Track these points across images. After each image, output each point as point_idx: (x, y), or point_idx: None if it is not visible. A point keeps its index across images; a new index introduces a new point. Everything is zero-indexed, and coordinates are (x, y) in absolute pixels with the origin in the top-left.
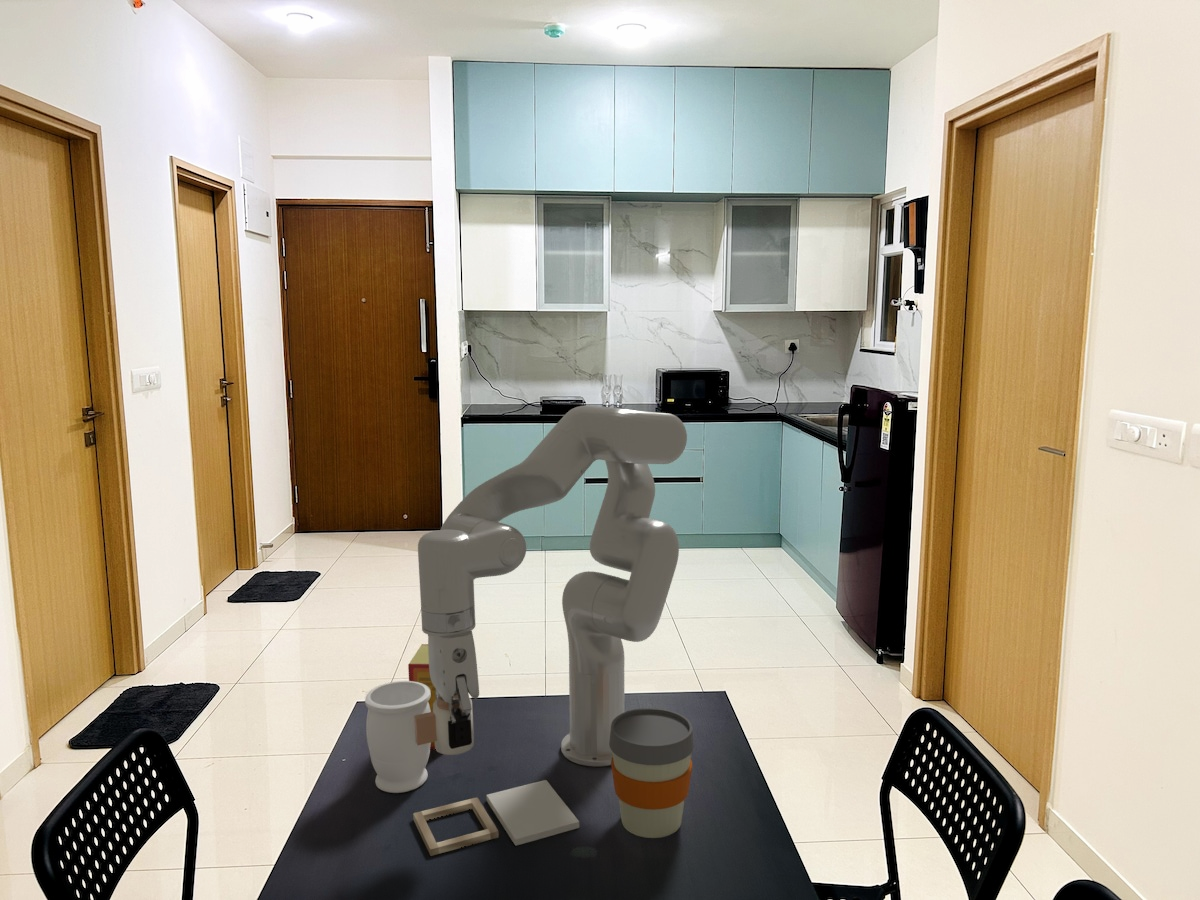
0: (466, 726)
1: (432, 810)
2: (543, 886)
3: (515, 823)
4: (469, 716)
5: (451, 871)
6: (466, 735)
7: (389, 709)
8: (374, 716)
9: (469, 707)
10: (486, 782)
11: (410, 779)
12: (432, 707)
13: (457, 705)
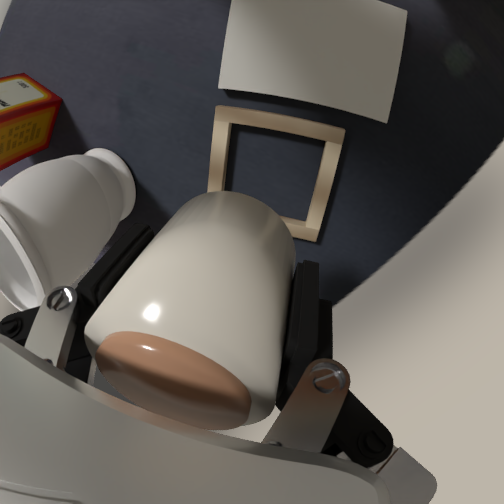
0: (332, 351)
1: (213, 189)
2: (479, 159)
3: (344, 92)
4: (346, 389)
5: (367, 231)
6: (331, 319)
7: None
8: None
9: (430, 491)
10: (165, 66)
11: (122, 190)
12: (2, 139)
13: (234, 412)
